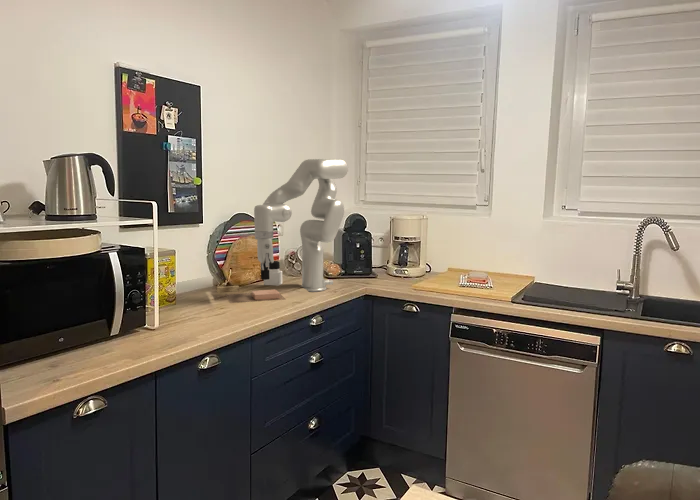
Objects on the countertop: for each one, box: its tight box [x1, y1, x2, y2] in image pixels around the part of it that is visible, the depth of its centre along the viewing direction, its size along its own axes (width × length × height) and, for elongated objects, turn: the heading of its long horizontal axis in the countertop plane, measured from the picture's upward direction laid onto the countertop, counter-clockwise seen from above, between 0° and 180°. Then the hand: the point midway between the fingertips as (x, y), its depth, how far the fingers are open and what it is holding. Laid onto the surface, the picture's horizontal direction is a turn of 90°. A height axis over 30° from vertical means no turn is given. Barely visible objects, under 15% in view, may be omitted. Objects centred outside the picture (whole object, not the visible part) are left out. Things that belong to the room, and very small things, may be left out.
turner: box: [216, 285, 240, 293], centre depth 225 cm, size 17×7×4 cm, turn 111°
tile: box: [251, 289, 281, 300], centre depth 213 cm, size 10×2×8 cm
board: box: [224, 292, 286, 304], centre depth 214 cm, size 22×16×2 cm
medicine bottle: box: [263, 260, 283, 287], centre depth 241 cm, size 7×7×12 cm
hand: (265, 279), depth 216 cm, fingers closed
